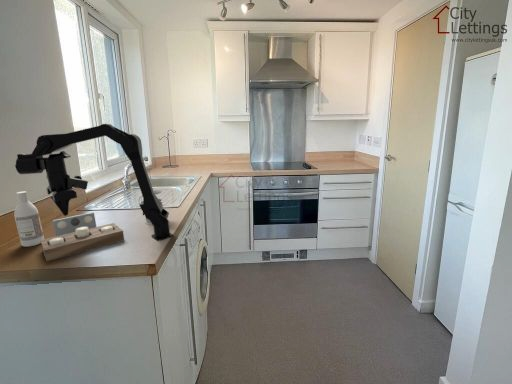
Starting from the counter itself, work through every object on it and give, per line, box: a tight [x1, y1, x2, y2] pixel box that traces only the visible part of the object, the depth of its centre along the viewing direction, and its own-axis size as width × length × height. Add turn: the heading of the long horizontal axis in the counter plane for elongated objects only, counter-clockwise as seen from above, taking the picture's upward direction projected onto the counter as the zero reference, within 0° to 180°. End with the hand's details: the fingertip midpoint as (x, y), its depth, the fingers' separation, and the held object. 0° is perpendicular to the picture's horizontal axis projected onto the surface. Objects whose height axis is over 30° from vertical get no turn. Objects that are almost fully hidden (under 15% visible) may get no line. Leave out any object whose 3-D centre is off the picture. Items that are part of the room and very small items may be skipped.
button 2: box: [101, 226, 113, 233], centre depth 106 cm, size 4×4×4 cm
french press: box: [138, 166, 164, 226], centre depth 123 cm, size 10×12×25 cm
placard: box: [52, 211, 97, 237], centre depth 111 cm, size 1×14×8 cm, turn 132°
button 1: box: [49, 238, 64, 245], centre depth 96 cm, size 4×4×4 cm
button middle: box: [75, 227, 90, 239], centre depth 101 cm, size 4×4×4 cm
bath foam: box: [13, 191, 45, 248], centre depth 103 cm, size 7×7×20 cm
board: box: [40, 222, 125, 262], centre depth 101 cm, size 12×24×4 cm, turn 132°
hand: (66, 215), depth 98 cm, fingers closed
